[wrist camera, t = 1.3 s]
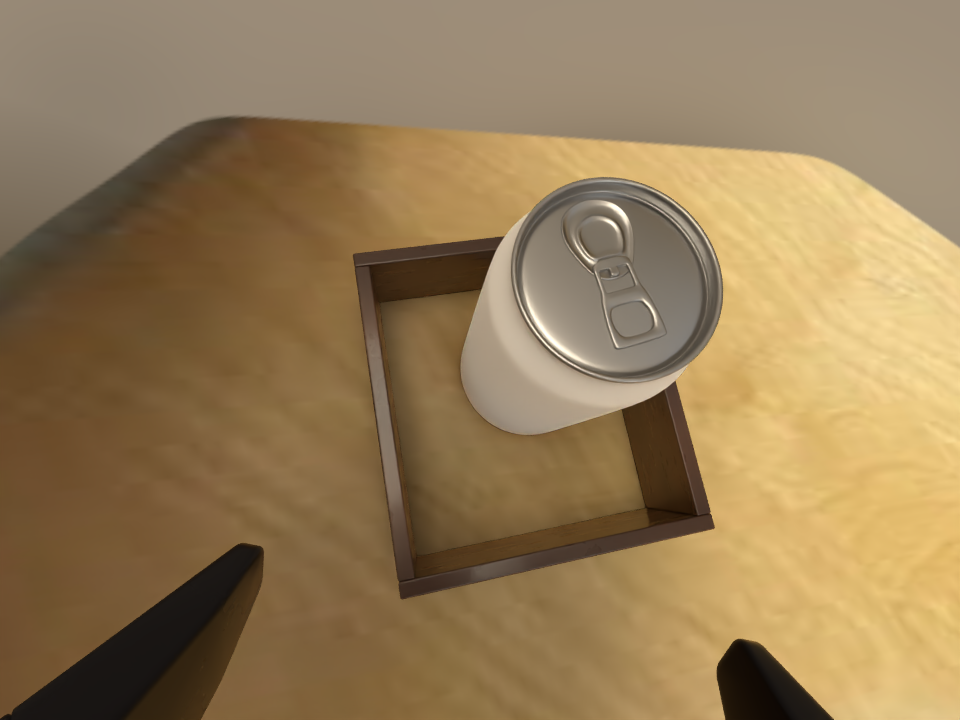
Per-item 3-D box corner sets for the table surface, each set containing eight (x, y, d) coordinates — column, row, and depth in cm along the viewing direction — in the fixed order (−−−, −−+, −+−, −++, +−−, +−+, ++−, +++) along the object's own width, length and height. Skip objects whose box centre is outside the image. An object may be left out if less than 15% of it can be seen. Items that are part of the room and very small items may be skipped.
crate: (660, 518, 23) (715, 529, 19) (404, 573, 21) (400, 600, 17) (597, 263, 26) (632, 220, 21) (365, 293, 24) (352, 253, 19)
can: (562, 294, 25) (683, 141, 13) (605, 414, 24) (779, 359, 12) (442, 327, 24) (461, 189, 12) (482, 453, 23) (543, 435, 11)
